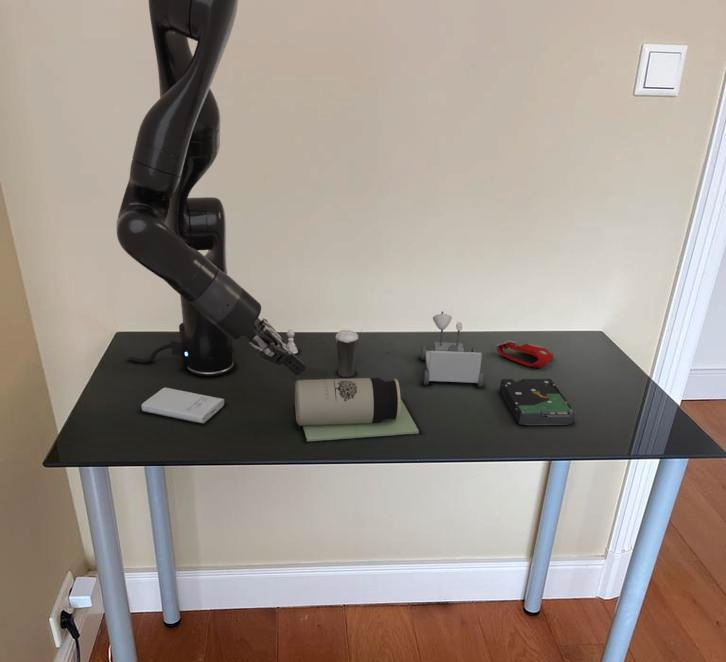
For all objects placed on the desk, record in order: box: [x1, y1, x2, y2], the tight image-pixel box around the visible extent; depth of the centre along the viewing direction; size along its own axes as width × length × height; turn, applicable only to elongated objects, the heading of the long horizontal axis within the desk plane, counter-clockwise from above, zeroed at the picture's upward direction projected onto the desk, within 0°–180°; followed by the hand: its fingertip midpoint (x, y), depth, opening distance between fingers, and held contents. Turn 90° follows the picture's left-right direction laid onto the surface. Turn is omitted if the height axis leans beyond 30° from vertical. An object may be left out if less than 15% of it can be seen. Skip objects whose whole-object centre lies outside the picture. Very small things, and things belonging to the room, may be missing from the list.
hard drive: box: [141, 387, 225, 424], centre depth 140 cm, size 2×8×12 cm
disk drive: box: [499, 378, 575, 426], centre depth 144 cm, size 10×3×15 cm
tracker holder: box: [494, 339, 554, 369], centre depth 163 cm, size 12×4×10 cm
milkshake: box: [335, 329, 363, 378], centre depth 153 cm, size 4×5×10 cm
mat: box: [302, 399, 420, 442], centre depth 138 cm, size 20×13×1 cm, turn 102°
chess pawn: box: [286, 329, 299, 355], centre depth 162 cm, size 3×3×5 cm
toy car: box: [420, 311, 485, 388], centre depth 156 cm, size 18×10×12 cm
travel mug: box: [294, 377, 402, 427], centre depth 135 cm, size 8×8×18 cm
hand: (301, 370), depth 131 cm, fingers closed
